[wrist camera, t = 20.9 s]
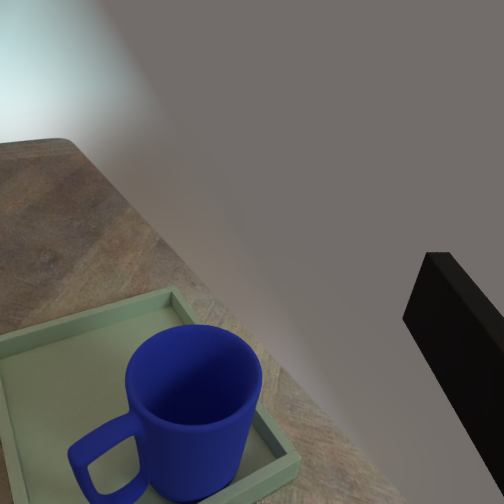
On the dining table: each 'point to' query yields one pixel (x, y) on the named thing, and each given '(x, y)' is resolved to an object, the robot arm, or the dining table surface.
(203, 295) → the dining table surface
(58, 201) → the dining table surface
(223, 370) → the mug
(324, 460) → the dining table surface
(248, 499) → the tray
